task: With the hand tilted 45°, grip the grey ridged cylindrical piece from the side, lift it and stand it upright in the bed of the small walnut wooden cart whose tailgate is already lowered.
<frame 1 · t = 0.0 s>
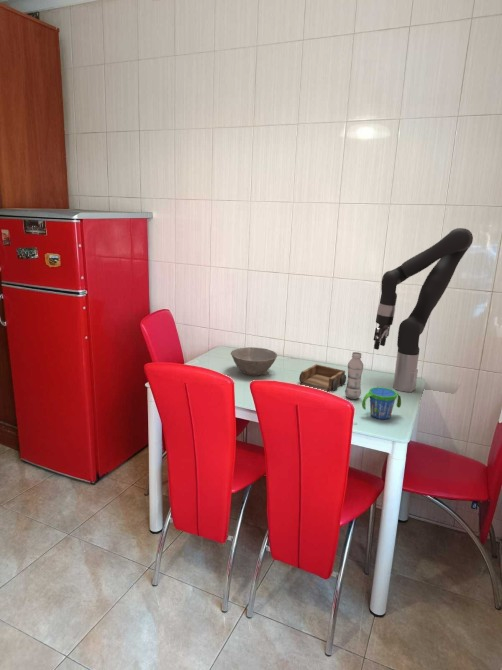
hand: (379, 347, 216), 17 cm above the table, tool pointing down, fingers open, 8 cm apart
cart: (322, 383, 215), on the table
grey ridged cylindrical piece: (352, 398, 199), on the table
ceramic bowl: (252, 373, 226), on the table
snack cup: (380, 416, 182), on the table
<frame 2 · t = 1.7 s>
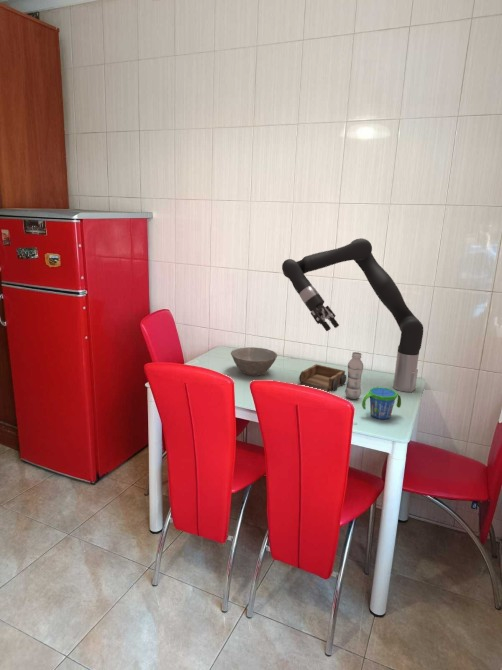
hand: (333, 328, 199), 29 cm above the table, tool tilted 45°, fingers open, 8 cm apart
nothing on the table moved.
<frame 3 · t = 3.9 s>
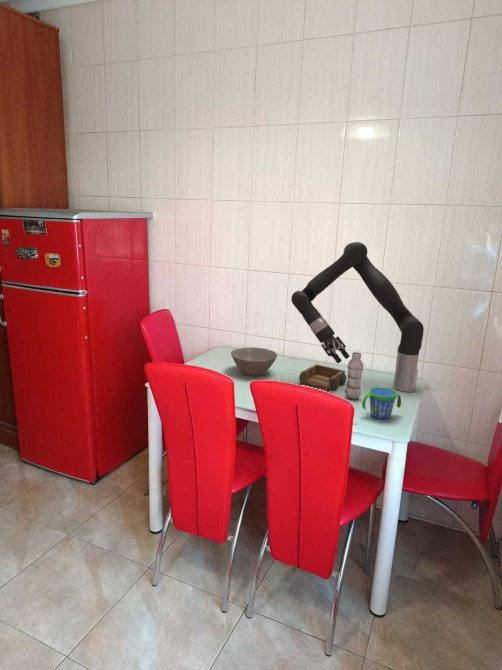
hand: (344, 360, 198), 16 cm above the table, tool tilted 45°, fingers open, 8 cm apart
nothing on the table moved.
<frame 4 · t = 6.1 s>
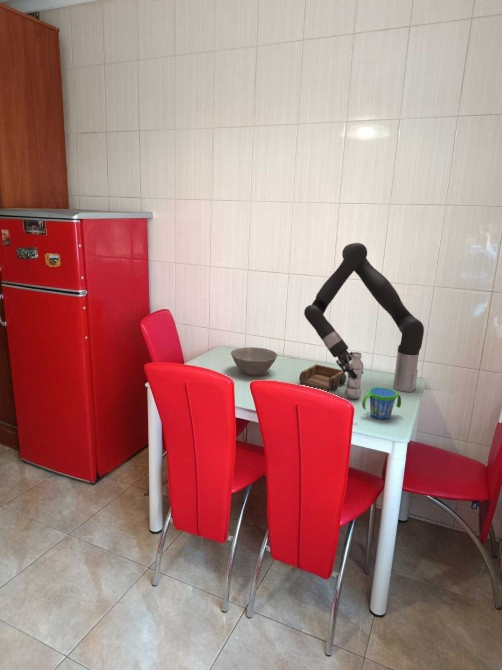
hand: (358, 376, 196), 10 cm above the table, tool tilted 45°, fingers closed on grey ridged cylindrical piece, 6 cm apart
grey ridged cylindrical piece: (352, 398, 199), on the table, touching gripper
everything else where it was.
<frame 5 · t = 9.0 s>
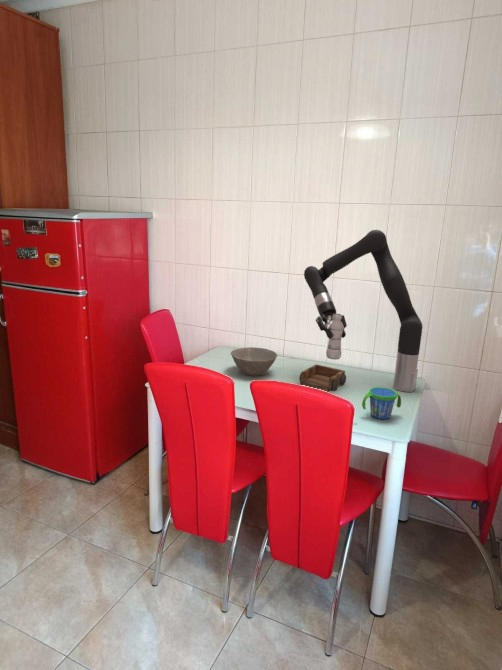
hand: (337, 337, 200), 25 cm above the table, tool tilted 45°, fingers closed on grey ridged cylindrical piece, 6 cm apart
grey ridged cylindrical piece: (333, 359, 204), point 14 cm above the table, touching gripper
everything else where it was.
when the fingers open (13 cm above the table, at t = 12.1 s): grey ridged cylindrical piece drops 1 cm, resting on cart.
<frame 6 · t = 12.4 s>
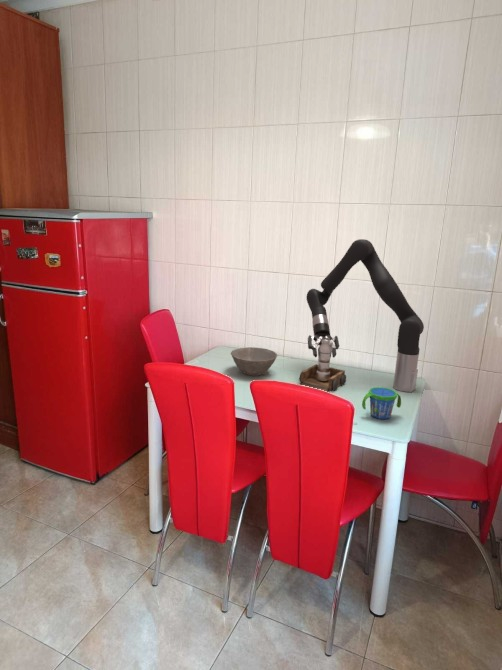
hand: (325, 356, 210), 14 cm above the table, tool tilted 45°, fingers open, 8 cm apart
grey ridged cylindrical piece: (322, 381, 215), point 1 cm above the table, touching cart
everything else where it was.
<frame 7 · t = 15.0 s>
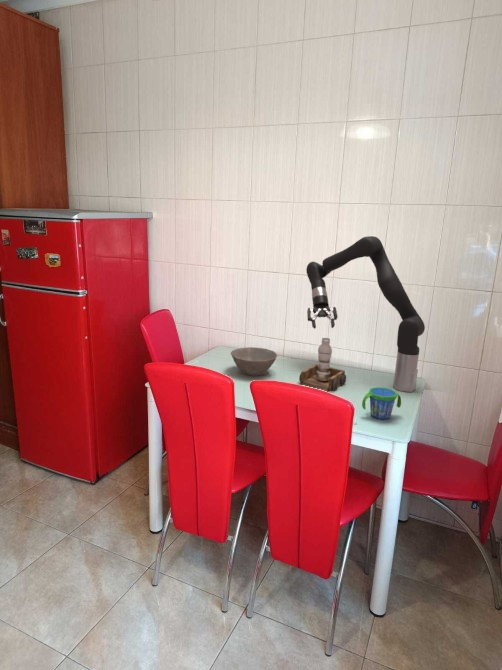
hand: (323, 327, 222), 24 cm above the table, tool tilted 40°, fingers open, 8 cm apart
nothing on the table moved.
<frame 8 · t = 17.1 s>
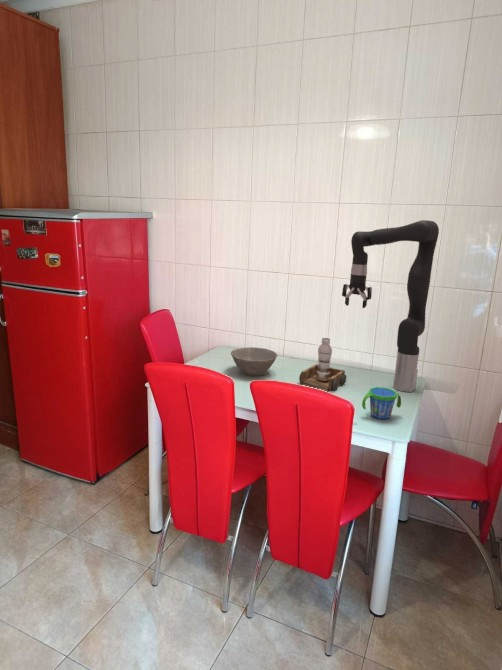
hand: (355, 306, 228), 33 cm above the table, tool pointing down, fingers open, 8 cm apart
nothing on the table moved.
at the end: grey ridged cylindrical piece inside the target area on the cart (0.2 cm from its centre), point 1.3 cm above the cart's base; grey ridged cylindrical piece tilted 0°; the gripper is holding nothing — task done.
